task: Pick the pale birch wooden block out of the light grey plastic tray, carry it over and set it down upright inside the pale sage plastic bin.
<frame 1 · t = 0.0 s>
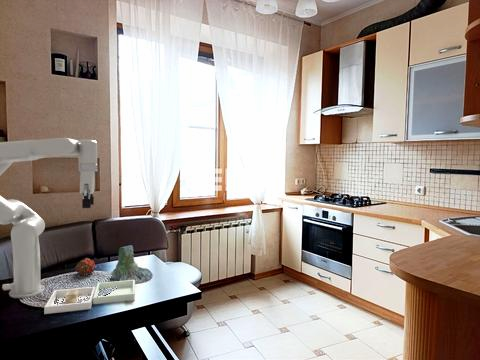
hand: (88, 206, 141), 37 cm above the table, tool pointing down, fingers open, 9 cm apart
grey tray: (72, 303, 127), on the table
tree stump: (131, 277, 156), on the table
birch block: (72, 302, 127), resting on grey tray
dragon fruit: (85, 274, 159), on the table
sage bin: (115, 294, 136), on the table
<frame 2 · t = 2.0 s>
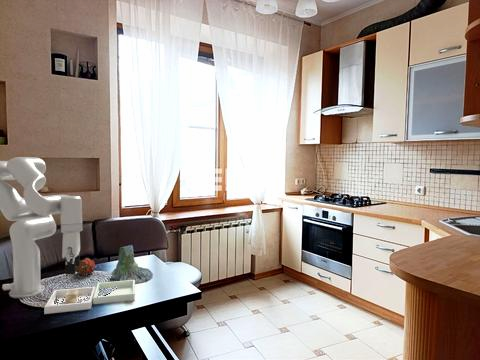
hand: (73, 270, 126), 14 cm above the table, tool pointing down, fingers open, 9 cm apart
nothing on the table moved.
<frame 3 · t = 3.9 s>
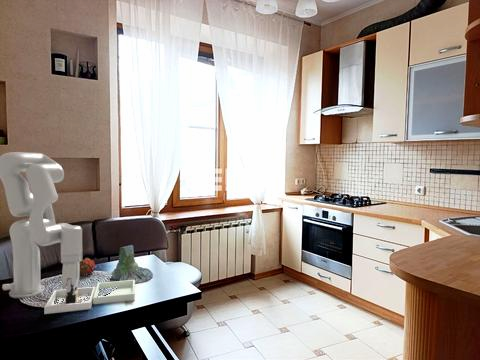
hand: (72, 301, 127), 1 cm above the table, tool pointing down, fingers closed on birch block, 3 cm apart
birch block: (72, 302, 127), resting on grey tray, touching gripper
everything else where it was.
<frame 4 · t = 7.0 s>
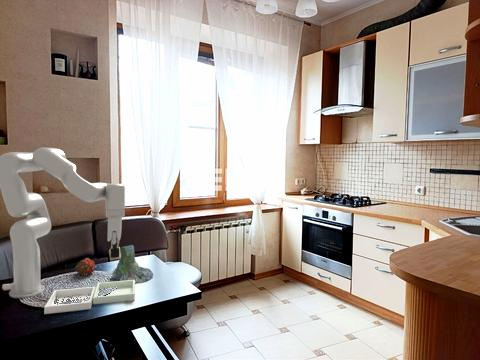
hand: (115, 255, 134), 17 cm above the table, tool pointing down, fingers closed on birch block, 4 cm apart
birch block: (115, 258, 134), point 16 cm above the table, tilted 7°, touching gripper
everything else where it was.
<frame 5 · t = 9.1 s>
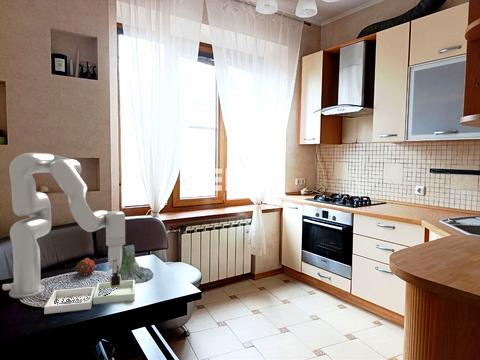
hand: (116, 282, 135), 5 cm above the table, tool pointing down, fingers closed on birch block, 4 cm apart
birch block: (116, 285, 135), point 4 cm above the table, tilted 7°, touching gripper
everything else where it was.
when the fingers open (2 cm above the table, at t = 10.5 s): birch block stays where it is, resting on sage bin.
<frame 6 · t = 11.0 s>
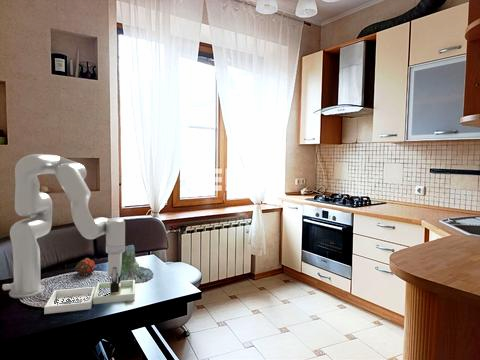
hand: (115, 287, 135), 3 cm above the table, tool pointing down, fingers open, 9 cm apart
birch block: (115, 294, 136), resting on sage bin
everything else where it was.
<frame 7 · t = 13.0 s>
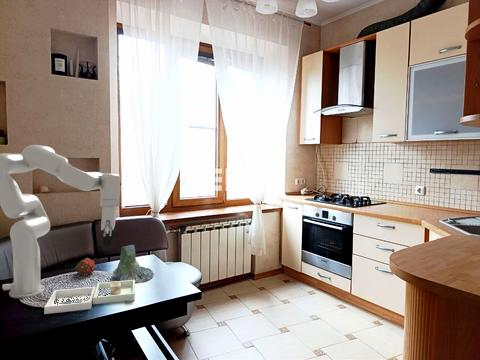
hand: (108, 242, 136), 22 cm above the table, tool pointing down, fingers open, 9 cm apart
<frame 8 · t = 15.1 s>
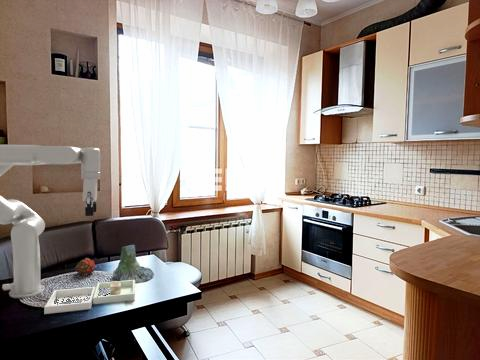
hand: (91, 213, 141), 33 cm above the table, tool pointing down, fingers open, 9 cm apart
at the end: birch block inside the target area on the sage bin (0.1 cm from its centre), point 0.4 cm above the sage bin's base; birch block tilted 0°; the gripper is holding nothing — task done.
